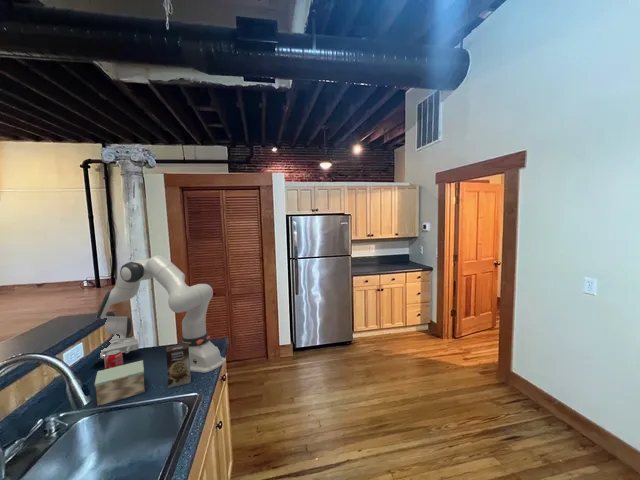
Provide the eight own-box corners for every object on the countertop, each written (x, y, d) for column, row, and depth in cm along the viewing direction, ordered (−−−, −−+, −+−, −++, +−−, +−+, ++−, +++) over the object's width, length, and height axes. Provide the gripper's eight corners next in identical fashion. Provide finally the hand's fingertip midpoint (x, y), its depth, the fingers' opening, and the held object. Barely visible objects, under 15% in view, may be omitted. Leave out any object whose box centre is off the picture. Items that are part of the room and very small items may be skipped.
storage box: (143, 380, 134) (142, 362, 134) (144, 392, 124) (143, 373, 124) (100, 392, 126) (98, 374, 125) (97, 406, 116) (95, 386, 115)
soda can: (105, 377, 139) (103, 352, 138) (123, 371, 143) (121, 347, 143) (106, 382, 133) (104, 357, 133) (125, 376, 138) (123, 352, 137)
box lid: (142, 362, 134) (142, 360, 134) (144, 374, 123) (144, 372, 123) (97, 373, 125) (97, 371, 125) (94, 388, 114) (94, 385, 114)
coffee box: (167, 388, 126) (165, 351, 125) (169, 381, 132) (166, 346, 131) (191, 383, 130) (188, 347, 129) (191, 376, 136) (188, 342, 135)
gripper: (91, 344, 153) (88, 354, 141) (137, 335, 164) (138, 343, 152) (92, 356, 153) (89, 366, 141) (138, 346, 164) (139, 354, 153)
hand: (115, 354), depth 147 cm, fingers open, 8 cm apart
